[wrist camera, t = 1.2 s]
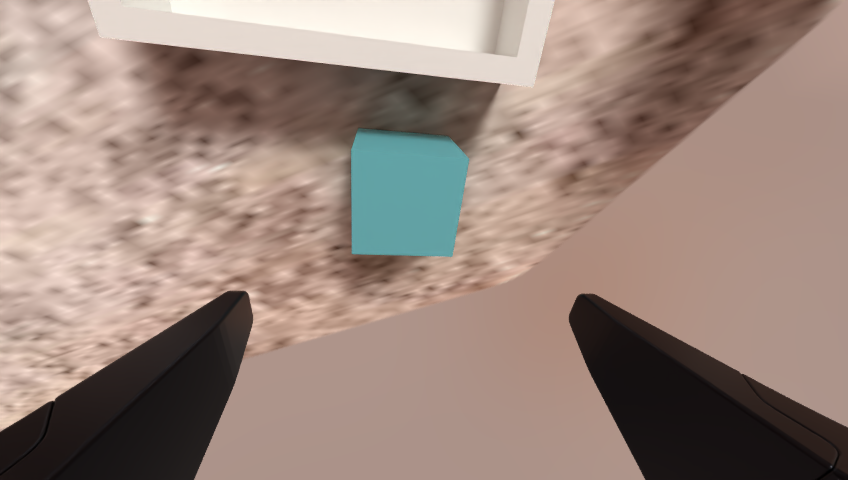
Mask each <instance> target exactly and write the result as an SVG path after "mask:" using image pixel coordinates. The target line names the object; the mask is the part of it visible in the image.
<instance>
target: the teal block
mask: <svg viewBox="0 0 848 480" xmlns="http://www.w3.org/2000/svg"><path fill="white" fill-rule="evenodd" d="M468 163H469V158H468V157H467V156H466V155H465V154H464V153H463V151H462V150H461V149H460V148H459V147H458V146H457V145H456V144H455V143H454V142H453V141H452V140H451V138H450V137H449V136H445V135H433V134H422V133H410V132H398V131H387V130H375V129H363V128H358V130H357V134H356V137H355V140H354V143H353V146H352V149H351V200H352V254H367V255H408V256H449V257H452V256H453V250H454V244H455V238H456V232H457V227H458V221H459V215H460V209H461V204H462V198H463V192H464V186H465V181H466V175H467V169H468Z"/></svg>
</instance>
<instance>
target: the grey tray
mask: <svg viewBox="0 0 848 480" xmlns="http://www.w3.org/2000/svg"><path fill="white" fill-rule="evenodd" d="M554 2H555V0H88V3H89V6H90V9H91V12H92V15H93V18H94V21H95V24H96V27H97V30H98V33H99V36H100V37H101V38H110V39H118V40H127V41H136V42H144V43H153V44H162V45H170V46H179V47H188V48H196V49H205V50H214V51H222V52H231V53H240V54H248V55H257V56H266V57H274V58H283V59H292V60H301V61H309V62H318V63H327V64H335V65H344V66H353V67H361V68H370V69H379V70H387V71H396V72H405V73H413V74H422V75H431V76H439V77H448V78H457V79H465V80H474V81H483V82H491V83H500V84H509V85H518V86H526V87H534V83H535V79H536V75H537V71H538V67H539V63H540V59H541V55H542V50H543V46H544V42H545V38H546V34H547V30H548V26H549V22H550V18H551V14H552V10H553V6H554Z"/></svg>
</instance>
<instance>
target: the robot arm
mask: <svg viewBox="0 0 848 480" xmlns="http://www.w3.org/2000/svg"><path fill="white" fill-rule="evenodd" d="M569 323H570V326H571V328H572V331H573V333H574V335H575V338H576V340H577V343H578V345H579V348H580V350H581V353H582V355H583V358H584V360H585V363H586V365H587V367H588V370H589V372H590V373H591V376H592V378H593V380H594V382H595V384H596V386H597V388H598V390H599V391H600V393H601V395H602V397H603V399H604V401H605V403H606V405H607V406H608V409H609V411H610V413H611V415H612V416H613V418H614V420H615V422H616V424H617V426H618V428H619V430H620V432H621V434H622V436H623V438H624V439H625V441H626V443H627V445H628V447H629V449H630V451H631V453H632V455H633V457H634V459H635V460H636V462H637V465H638V466H639V468H640V470H641V472H642V474H643V476H644V478H645V480H848V427H846V426H844V425H842V424H839V423H837V422H836V421H834V420H831V419H829V418H827V417H825V416H823V415H821V414H819V413H817V412H815V411H813V410H811V409H809V408H808V407H805V406H804V405H802V404H799V403H797V402H795V401H793V400H792V399H790V398H788V397H786V396H784V395H782V394H780V393H778V392H776V391H774V390H773V389H771V388H769V387H766V386H765V385H763V384H761V383H759V382H757V381H756V380H754V379H752V378H750V377H748V376H746V375H744V374H741V373H740V372H739V371H737V370H735V369H733V368H731V367H729V366H727V365H725V364H724V363H722V362H720V361H718V360H716V359H714V358H712V357H711V356H709V355H707V354H705V353H703V352H701V351H700V350H698V349H696V348H694V347H692V346H690V345H688V344H686V343H684V342H683V341H681V340H679V339H677V338H675V337H673V336H671V335H670V334H668V333H666V332H664V331H662V330H660V329H658V328H657V327H655V326H653V325H651V324H649V323H647V322H645V321H644V320H642V319H640V318H638V317H636V316H634V315H632V314H631V313H629V312H627V311H625V310H623V309H621V308H619V307H617V306H616V305H613V304H612V303H610V302H608V301H606V300H604V299H603V298H601V297H599V296H597V295H595V294H580V295H578V296H577V298H576V300H575V303H574V305H573V307H572V310H571V312H570V314H569ZM252 324H253V314H252V309H251V304H250V299H249V295H248V293H247V292H246V291H227V292H225V293H224V294H222V295H220V296H219V297H217V298H216V299H214V300H212V301H211V302H209V303H208V304H206V305H204V306H203V307H201V308H200V309H198V310H196V311H195V312H193V313H192V314H190V315H188V316H187V317H185V318H183V319H182V320H180V321H179V322H177V323H175V324H174V325H172V326H171V327H169V328H167V329H166V330H164V331H163V332H161V333H159V334H158V335H156V336H154V337H153V338H151V339H150V340H148V341H146V342H145V343H143V344H142V345H140V346H138V347H137V348H135V349H134V350H132V351H130V352H129V353H127V354H125V355H124V356H122V357H121V358H119V359H117V360H116V361H114V362H113V363H111V364H109V365H108V366H106V367H105V368H103V369H101V370H100V371H98V372H97V373H95V374H93V375H92V376H90V377H88V378H87V379H85V380H84V381H82V382H80V383H79V384H77V385H76V386H74V387H72V388H71V389H69V390H67V391H66V392H64V393H63V394H61V395H59V396H58V397H57V398H56V399H55V401H50V402H48V403H46V404H45V405H43V406H42V407H40V408H38V409H37V410H35V411H33V412H32V413H30V414H29V415H27V416H25V417H24V418H22V419H21V420H19V421H17V422H16V423H14V424H12V425H11V426H9V427H7V428H6V429H4V430H2V431H1V432H0V480H194V478H195V476H196V474H197V471H198V469H199V467H200V464H201V462H202V460H203V457H204V455H205V452H206V450H207V448H208V446H209V443H210V441H211V439H212V436H213V434H214V431H215V429H216V427H217V424H218V422H219V420H220V417H221V415H222V412H223V410H224V408H225V405H226V403H227V401H228V399H229V396H230V394H231V391H232V389H233V386H234V384H235V381H236V377H237V375H238V372H239V368H240V364H241V362H242V358H243V355H244V351H245V348H246V345H247V341H248V338H249V335H250V331H251V328H252Z"/></svg>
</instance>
